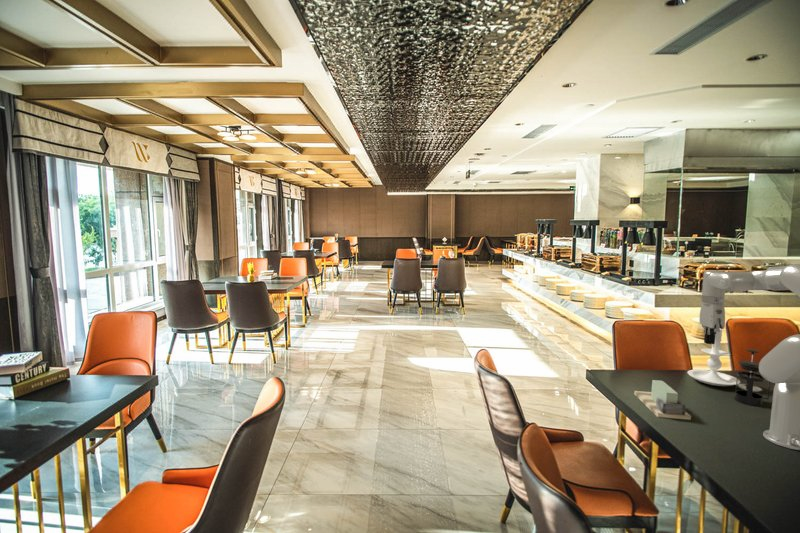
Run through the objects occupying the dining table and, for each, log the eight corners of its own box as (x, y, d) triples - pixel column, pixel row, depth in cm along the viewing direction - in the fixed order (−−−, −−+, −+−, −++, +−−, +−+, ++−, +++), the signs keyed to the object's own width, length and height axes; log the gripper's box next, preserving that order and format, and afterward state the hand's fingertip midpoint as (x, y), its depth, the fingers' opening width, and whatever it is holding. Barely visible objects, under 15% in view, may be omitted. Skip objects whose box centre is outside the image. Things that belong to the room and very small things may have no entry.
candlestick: (735, 378, 207) (740, 324, 204) (742, 394, 186) (748, 334, 184) (686, 370, 218) (690, 318, 216) (687, 384, 198) (692, 327, 195)
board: (690, 419, 160) (691, 406, 160) (657, 417, 162) (658, 403, 162) (663, 396, 183) (664, 384, 183) (634, 394, 185) (635, 382, 185)
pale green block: (676, 412, 163) (677, 393, 162) (665, 411, 164) (666, 392, 163) (661, 398, 177) (662, 380, 176) (650, 397, 177) (652, 380, 177)
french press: (732, 401, 178) (737, 350, 176) (732, 395, 186) (736, 345, 184) (768, 409, 171) (773, 355, 169) (766, 402, 178) (772, 350, 176)
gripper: (734, 303, 162) (730, 349, 164) (712, 297, 177) (708, 339, 178) (713, 302, 163) (709, 348, 165) (692, 297, 178) (689, 338, 180)
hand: (709, 343), depth 172 cm, fingers closed
